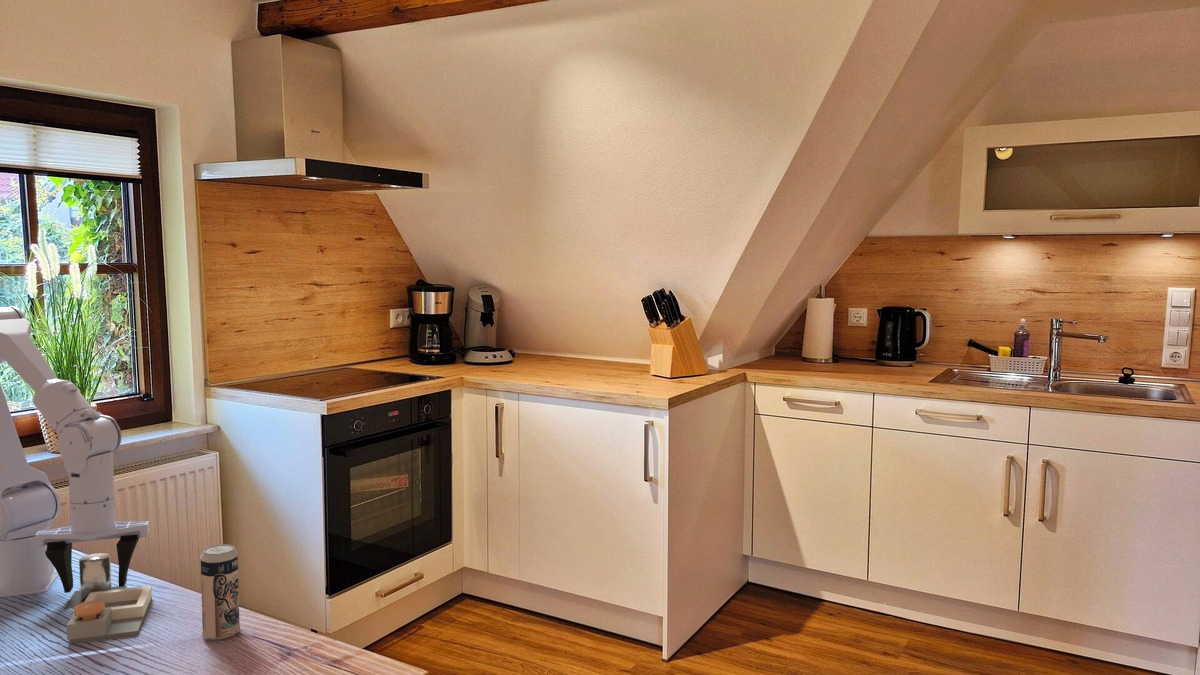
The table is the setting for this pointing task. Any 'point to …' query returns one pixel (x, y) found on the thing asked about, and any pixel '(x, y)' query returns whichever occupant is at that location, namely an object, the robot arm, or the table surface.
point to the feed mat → (76, 597)
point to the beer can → (220, 592)
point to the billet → (94, 574)
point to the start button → (89, 609)
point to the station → (112, 615)
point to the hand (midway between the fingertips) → (96, 587)
